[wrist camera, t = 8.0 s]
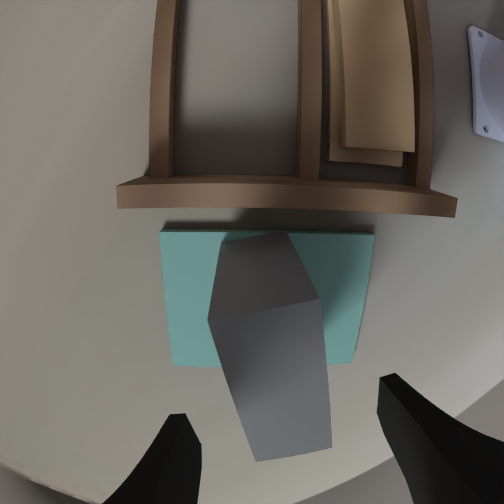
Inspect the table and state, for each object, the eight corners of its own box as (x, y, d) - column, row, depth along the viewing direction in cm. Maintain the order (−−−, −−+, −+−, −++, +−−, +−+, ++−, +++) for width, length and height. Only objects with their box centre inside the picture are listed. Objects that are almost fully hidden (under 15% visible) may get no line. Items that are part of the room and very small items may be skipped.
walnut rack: (411, -28, 12) (441, -51, 8) (417, 202, 17) (454, 217, 14) (159, -52, 12) (144, -86, 8) (143, 194, 17) (117, 208, 13)
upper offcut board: (392, -4, 13) (401, -11, 12) (403, 151, 16) (414, 152, 15) (329, -16, 13) (335, -25, 12) (338, 146, 16) (345, 146, 15)
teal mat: (371, 232, 18) (374, 235, 17) (349, 357, 21) (351, 362, 20) (161, 229, 17) (159, 231, 17) (174, 359, 20) (173, 365, 20)
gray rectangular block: (285, 229, 17) (319, 298, 10) (304, 349, 20) (332, 447, 12) (220, 242, 17) (206, 320, 10) (250, 359, 20) (255, 461, 12)
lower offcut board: (387, -10, 14) (394, -16, 12) (393, 165, 17) (402, 166, 16) (320, -23, 13) (325, -31, 12) (324, 159, 17) (329, 160, 16)
